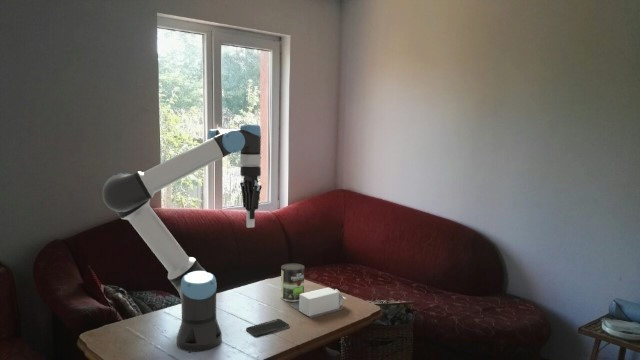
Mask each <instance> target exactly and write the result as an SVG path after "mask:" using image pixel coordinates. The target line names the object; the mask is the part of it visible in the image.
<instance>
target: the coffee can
mask: <svg viewBox="0 0 640 360" xmlns="http://www.w3.org/2000/svg"><path fill="white" fill-rule="evenodd" d="M280 269H281V270H280V271H281V273H280V275H281V280H280V281H281V282H280V285H281V286H280V288H281V289H280V299H281V300H283V301H285V302H289V303H290V302H291V303H292V302H293V303H297V302H299V294H302V293H305V269H306V268H305V265H303V264H300V263H295V262H293V263H284V264H283V265H281V266H280Z"/></svg>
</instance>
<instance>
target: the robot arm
mask: <svg viewBox="0 0 640 360" xmlns="http://www.w3.org/2000/svg"><path fill="white" fill-rule="evenodd" d="M261 146H262V130H261V126H260V125H259V124H243V123H242V124H241V125H240V128H239V129H238V128H237V129H234V128H232V129H230V128H229V129H228V128H227V129H225V128H224V129H223V128H215V129H211V128H210V129H209V130H208V132H207V140H206V141H203V142H202V143H200V144H198V145H194V146H193V147H191V148H189V149H188V150H185V151H183V152H181V153H179V154H177V155H175V156H173V157H172V158H171V157H170V159H167V160H164V161H163V162H161V163H159V164H157V165H154V166H153V167H151V168H149V169H147V170H145V171H139V170H138V171H136V172H134V173H132V174H130V173H126V172H120V173H119V172H118V173H114V174H113V175H112V176H109V178H107V180H106V181H105V182H104V184H103V187H102V188H103V189H102V194H101V195H102V200H103V202H104V204H105V205H106V206H107V208H109V209H110V210H111V211H114V212H115V213H116V214H117V215H118V217H119V219H121V220H126V221H128V222H129V224H130V225H132V227H133V228H134V230H135V231H136V232H137V233H138V234H139V236H140V238H142V240H143V241H144V242H145V244H147V246H148V247H149V249H150V250H151V252H152V253H153V254H154V255H155V256H156V258H157V259H158V260H159V262H160V263H161V264H162V265H163V266H164V268H165V269H166V270H167V272H168V273H167V279H168V281H170V283H171V284H172V285H173V287H174V288H175V289H176V290H177V292H178V295H179V296H180V301H181V303H180V304H181V323H180V325H179V328H178V331H177V335H176V345H177V347H178V348H179V349H181V350H183V351H187V352H202V351H207V350H211V349H213V348H214V349H215V347H217V346H219V345H220V344H221V343H222V341H223V340H222V337H223V336H222V331H221V327H220V325H219V322H218V319H217V287H218V286H217V284H218V283H217V278H216V277H215V275H214V274H213V273H211V272H207V271H206V269H205V268H204V267H202V266H201V264H200V263H199V261H197V259H196V257H193V256H188V255H187V253H186V251H185V250H184V249H183V247H182V246H181V245H180V243H178V241H177V240H176V239H175V237H174V236H173V234H172V233H171V232H170V231H169V229H168V228H167V226H166V225H165V224H164V222H163V221H162V220H161V218H160V217H159V216H158V214H157V213H156V212H155V211H154V209H153V208H152V207H151V205H150V203H151V199H153V198H154V196H155V193H157V192H159V191H161V190H164V189H165V188H168V186H170V185H172V184H174V183H177V182H178V181H180V180H182V179H184V178H186V177H188V176H190V175H192V174H194V173H195V172H197V171H199V170H201V169H203V168H205V167H208V166H209V165H211V164H213V163H216V162H217V161H219V160H221V159H223V158H225V157H227V156H229V155H231V154H235V153H238V152H240V165H241V166H240V176H241V177H243V181H241V182H240V183H239V185H240V189H241V197H242V205H243V206H242V207H243V208H244V209H245V210H246V219H245V220H246V221H245V222H246V223H245V224H246V228H248V229H249V228H255V226H256V225H255V223H256V222H255V219H256V218H255V217H256V215H255V211H256V210H258V209H259V206H260V205H259V203H260V196H261V192H262V191H261V190H262V184H259V179H258V177H260V176H261V174H262V173H261V169H262V167H261V162H262V161H261V159H262V157H261V153H262V151H261V149H262V148H261Z"/></svg>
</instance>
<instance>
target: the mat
mask: <svg viewBox="0 0 640 360" xmlns="http://www.w3.org/2000/svg"><path fill="white" fill-rule="evenodd" d="M289 306H290V307H292V308H294V309H295V310H297V311H298V312H300V311H299V301H297V302H293V303H290V304H289ZM342 309H343V310H344V308H343V307H342V306H340V307H339V308H338V309H335V310H331V311H327V312H324V313H320V314H316V315H312V316H308V318H310V319H313V318H317V317H321V316H325V315H328V314H331V313H335V312H339V311H342ZM302 314H304V313H302ZM304 315H306V314H304ZM306 316H307V315H306Z"/></svg>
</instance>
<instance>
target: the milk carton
mask: <svg viewBox="0 0 640 360" xmlns="http://www.w3.org/2000/svg"><path fill="white" fill-rule="evenodd" d="M346 299H347V297H344V295H342V294H341V291H340V290H338V289H337V288H335V289H334V288H331V287H323V288H320V289H316V290H315V289H314V290H312V291H307V292H304V293H302V294H299V301H298V302H299V311H298V312H300V313H301V314H303V313H304V315H305V314H306V316H307V317H309V316H312V315H316V314H320V313H324V312H327V311H331V310H335V309H338V308H339V307H341V305H342V304H343V302H344V300H346Z"/></svg>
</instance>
